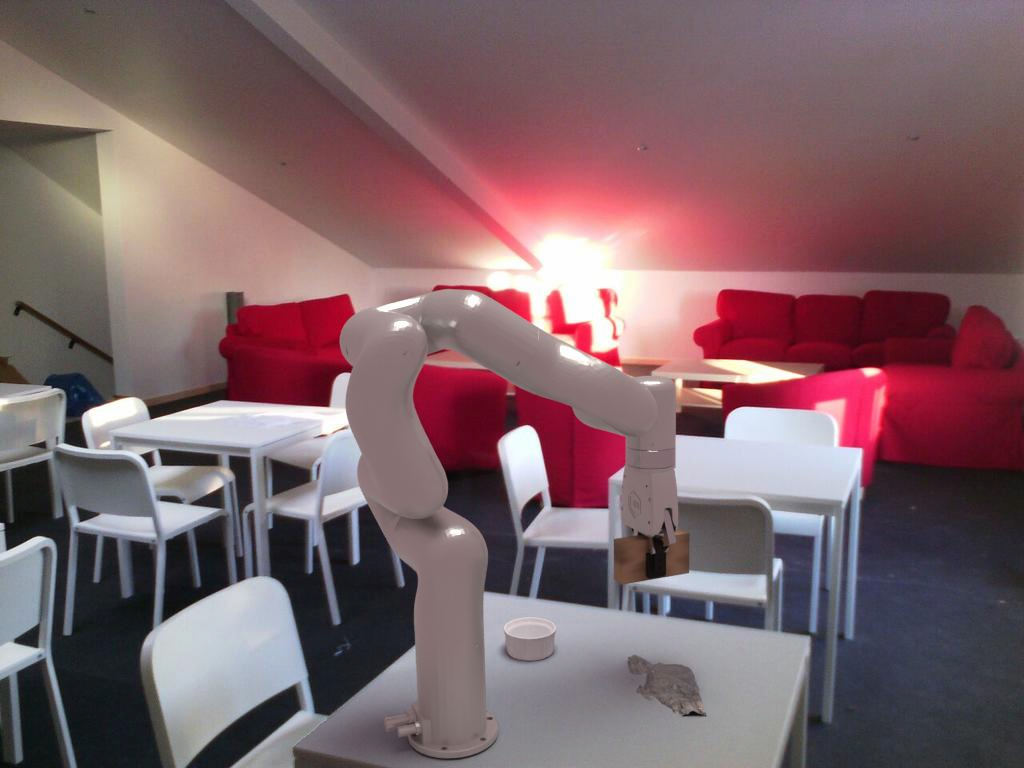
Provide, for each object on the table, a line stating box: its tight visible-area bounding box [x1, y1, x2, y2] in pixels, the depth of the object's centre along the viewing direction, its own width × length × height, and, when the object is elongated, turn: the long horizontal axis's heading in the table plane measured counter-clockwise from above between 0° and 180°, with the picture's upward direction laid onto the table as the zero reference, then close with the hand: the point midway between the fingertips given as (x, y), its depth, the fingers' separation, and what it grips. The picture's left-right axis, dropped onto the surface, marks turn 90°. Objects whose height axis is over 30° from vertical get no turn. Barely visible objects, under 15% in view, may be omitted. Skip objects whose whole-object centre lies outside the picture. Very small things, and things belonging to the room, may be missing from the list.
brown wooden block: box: [613, 528, 691, 585], centre depth 136 cm, size 12×3×6 cm, turn 112°
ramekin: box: [503, 616, 557, 662], centre depth 148 cm, size 9×9×4 cm
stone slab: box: [627, 654, 707, 717], centre depth 135 cm, size 18×2×10 cm
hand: (650, 572), depth 136 cm, fingers closed on brown wooden block, 2 cm apart
